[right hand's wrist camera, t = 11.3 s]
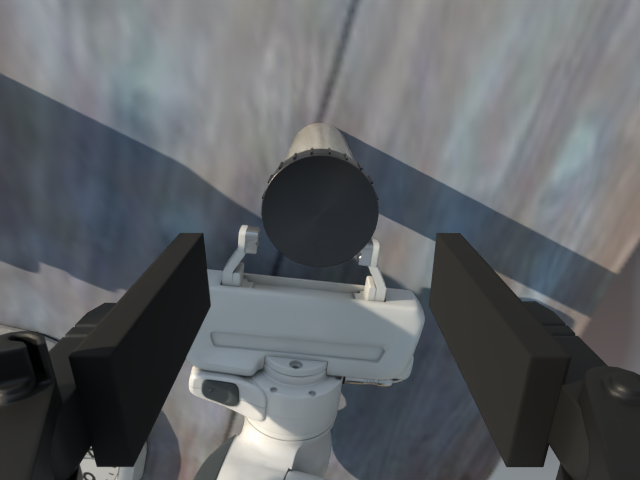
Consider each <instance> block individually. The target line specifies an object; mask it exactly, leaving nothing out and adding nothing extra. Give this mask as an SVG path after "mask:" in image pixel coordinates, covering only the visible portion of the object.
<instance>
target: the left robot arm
mask: <svg viewBox="0 0 640 480" xmlns="http://www.w3.org/2000/svg"><path fill="white" fill-rule="evenodd" d="M260 231H261V227H255V226H248V225H242V226H241V228H240V231H239V240H238V248H237V249H236V250H235V252H234V253H233V255H232V256H231V257H230V259H229V260H228V262H227V264H226V266H225V268H224V270H223V271H221V270H211V269H207V273H208V283H209V292H210V301H211V307H210V309H209V311H208V313H207V315H206V317H205V319H204V321H203V324H202V326H201V328H200V330H199V332H198V334H197V336H196V338H195V340H194V342H193V344H192V346H191V348H190V351H189V353H188V355H187V357H186V359H187V361H188V362H189V363H190V364H192V365H193V368H192V371H191V375H190V380H189V389H190V391H191V393H192V394H194V395H195V396H198V397H200V398H203V399H206V400H209V401H211V402H214V403H217V404H220V405H222V406H225V407H227V408H229V409H232V410H234V411H236V412H238V413H240V414H242V415H244V416H245V423H244V427H243V430H242V433H241V434H240V435H238V436H237V435H234V436H233V437H231V438H230V439H228V440H227V441H226V442H224V443H223V444H222V445H221V446H220V447H219V448H218V449H217V450H215V451H214V452H213V453H212V454H211V455H210V456H209V457H208V458H207V460H206V461H205V462H204V463H203V465H202V466H201V468H200V469H199V471H198V473H197V474H196V476H195V478H194V480H330V479H326V478H325V476H326V472H327V468H328V464H329V459H330V453H331V447H332V440H331V433H330V430H331V429H332V427H333V425H334V423H335V420H336V417H337V412H338V406H339V400H340V395H341V388H342V384H343V383H346V384H357V385H363V384H364V385H366V384H367V385H369V384H370V385H377V386H379V387H391V386H392V384H393V383H398V382H401V381H403V380H405V379H407V378H408V377H409V376H410V373H411V370H412V365H413V361H414V351H415V349H416V346H417V344H418V341H419V338H420V335H421V332H422V329H423V326H424V322H425V315H424V311H423V309H422V306H421V304H420V302H419V301H418V299H417V298H416V296H415V295H414V294H413V292H411V291H410V290H403V289H393V288H386V285H385V282H384V279H383V276H382V274H381V271H380V269H379V266H378V264H377V262H378V256H379V250H380V244H379V242H378V240H376V239H370V241H369V242H368V243H367V245H366V246H365V247H364V248H363V249H362V250H361V251H360V252H359V253H358V254H357V259H358V265H363V266H368V267H369V269H370V272H371V274H372V276H367V278H366V283H365V286H364V285H355V284H345V283H336V282H326V281H316V280H307V279H297V278H288V277H278V276H269V275H259V274H249V273H244V263H242V262H240V261H241V260H242V259H243V257H244V256H245V254H246V253H250V254H257V251H258V248H259V245H260V237H259V236H260Z"/></svg>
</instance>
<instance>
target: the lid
mask: <svg viewBox="0 0 640 480" xmlns="http://www.w3.org/2000/svg"><path fill="white" fill-rule="evenodd" d="M268 183H269V184H268V186H267V188H266V190H265V192H264V194H263V196H262V199H263V201H262V213H261V215H262V221H263V225H264V228H265V231H266V233H267V235H268V237H269V239H270V241H271V242H272V243H273V245H274V246H275V247H276V248H277V249H278V250H279V251H280V252H281V253H282V254H283V255H285V256H286V257H288V258H289V259H291V260H293V261H295V262H297V263H300V264H303V265H307V266H314V267H327V266H333V265H337V264H340V263H342V262H345V261H347V260H349V259H351V258H352V257H354V256H355V255H357V254H358V253H359V252H360V251H361V250H362V249H363V248H364V247H365V246H366V245H367V243H368V242H369V241H370V239H371V237H372V236H373V233H374V231H375V229H376V225H377V221H378V216H379V215H378V201H377V200H378V197H377V195H376V193H375V191H374V188H373V186H372V184H373V182H372V180H371V178H370V176H367V175H366V173H365V171H364V170H363V169H362V166H361V164H360V163H357V162H355V161H354V160H353V159H351V158H350V157H349V156H347V154H346V153H344V154H343V153H340V152H338V151H334V150H331V149H330V148H328V149H313V148H311V149H310V150H306V151H302V152H299V153H297V152H296V153H294V155H293V156H292V157H290V158H289V159H287V160H286V161H285V162H281V163H280V165H279V168H278V169H277V170H276V171H275V173H274V174H273V175H271V176H270V178H269V180H268Z"/></svg>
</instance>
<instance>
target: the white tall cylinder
mask: <svg viewBox="0 0 640 480" xmlns="http://www.w3.org/2000/svg"><path fill="white" fill-rule="evenodd" d="M311 148H313V149H328V148H330V149H331V150H334V151H338V152H340V153H343V154H344V153H346V154H347V156H349V157H350V158H351V159H353V160H354V161H355V159H354V156H353V154H352V152H351V150H350V147H349V145H348V143H347V140H346V138H345V137H344V135H343V134H342V133H341V132H340V131H339V130H338V129H337V128H335V127H334V126H332V125H329V124H325V123H315V124H311V125H308V126H306V127H305V128H303V129H302V130H301V131H300V132H299V133H298V134H297V135H296V137H295V138H294V140H293V143H292V145H291V147H290V150H289V152H288V154H287V156H286V159H285V161H286V160H287V159H289V158H290V157H292V156H293V155H294V153H296V152H297V153H299V152H302V151H306V150H310V149H311ZM285 161H284V162H285ZM355 162H356V161H355Z"/></svg>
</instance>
